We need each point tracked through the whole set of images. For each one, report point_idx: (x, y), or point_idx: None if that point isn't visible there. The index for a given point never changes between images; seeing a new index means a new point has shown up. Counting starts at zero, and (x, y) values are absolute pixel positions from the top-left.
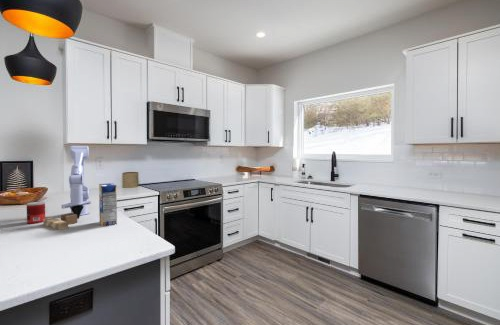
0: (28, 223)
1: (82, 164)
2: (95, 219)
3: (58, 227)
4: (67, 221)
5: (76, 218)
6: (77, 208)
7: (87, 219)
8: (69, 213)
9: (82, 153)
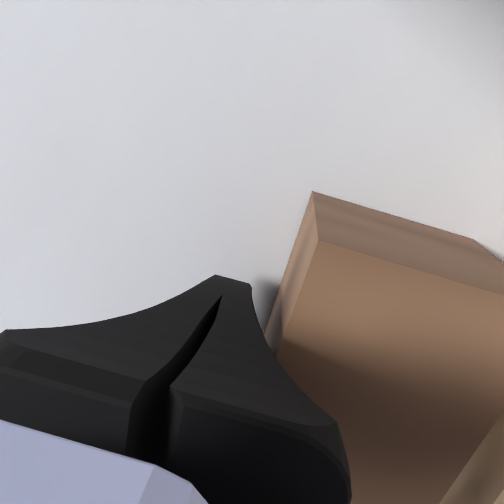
0: None
1: None
2: (32, 69)
3: None
4: (496, 259)
5: (331, 216)
6: (234, 396)
7: (100, 212)
8: None
9: None
